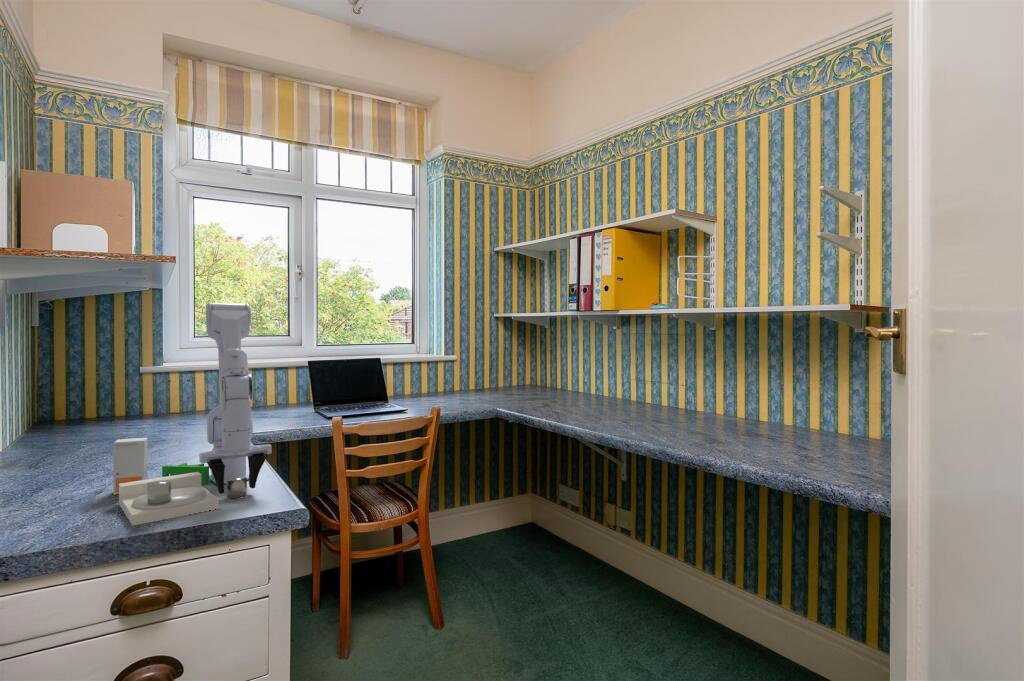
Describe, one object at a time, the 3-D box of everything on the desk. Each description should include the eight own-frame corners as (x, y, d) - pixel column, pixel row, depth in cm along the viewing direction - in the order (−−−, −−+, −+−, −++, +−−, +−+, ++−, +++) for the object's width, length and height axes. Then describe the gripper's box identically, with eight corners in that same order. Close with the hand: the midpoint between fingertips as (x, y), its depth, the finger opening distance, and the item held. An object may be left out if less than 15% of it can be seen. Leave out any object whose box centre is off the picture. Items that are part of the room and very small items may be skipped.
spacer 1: (145, 502, 112) (145, 482, 112) (168, 498, 114) (168, 478, 114) (149, 507, 109) (149, 486, 109) (173, 502, 112) (172, 482, 111)
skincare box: (112, 495, 125) (112, 442, 125) (117, 490, 129) (117, 439, 129) (144, 492, 127) (144, 440, 127) (148, 487, 131) (148, 437, 131)
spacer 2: (224, 496, 125) (224, 478, 125) (243, 492, 128) (243, 475, 127) (229, 500, 122) (229, 482, 122) (249, 496, 125) (249, 479, 125)
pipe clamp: (215, 482, 137) (215, 463, 137) (206, 486, 133) (206, 467, 133) (172, 480, 138) (172, 462, 138) (161, 484, 134) (161, 465, 134)
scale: (119, 504, 118) (118, 483, 118) (198, 491, 128) (197, 471, 128) (132, 525, 106) (132, 502, 106) (218, 509, 116) (218, 487, 116)
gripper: (205, 436, 117) (205, 500, 117) (276, 428, 126) (276, 487, 127) (196, 431, 122) (197, 493, 122) (265, 424, 132) (265, 481, 132)
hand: (236, 490), depth 125 cm, fingers open, 6 cm apart
